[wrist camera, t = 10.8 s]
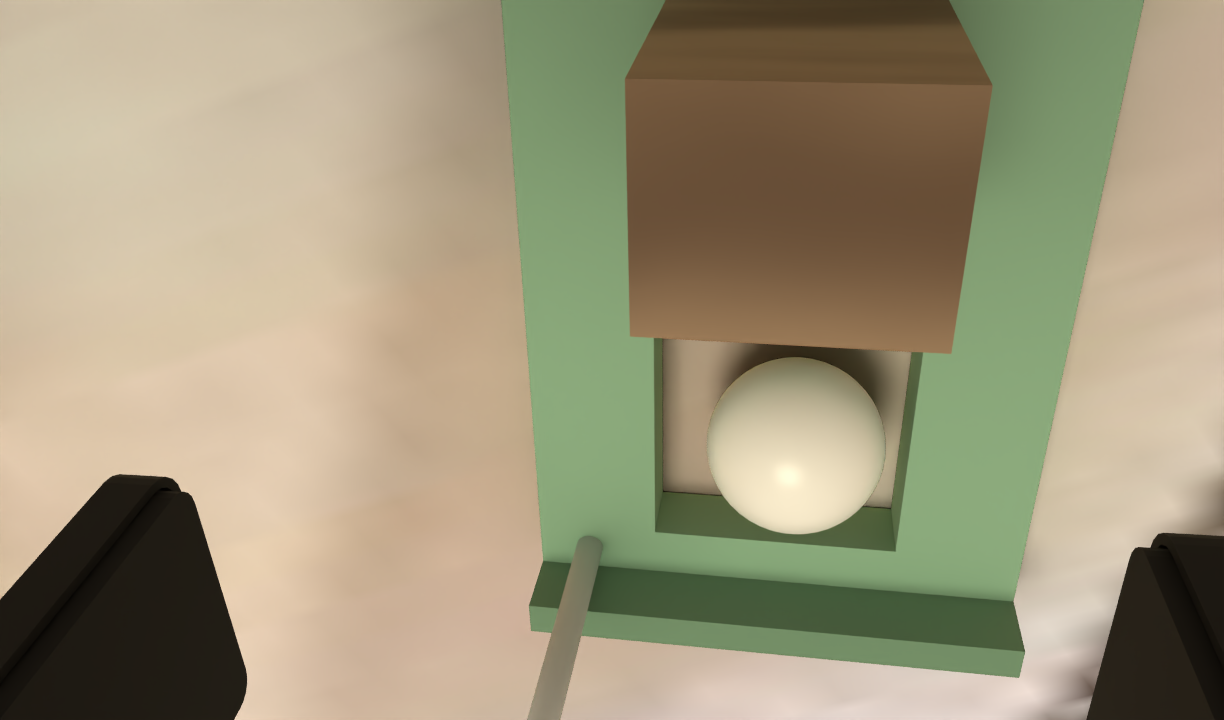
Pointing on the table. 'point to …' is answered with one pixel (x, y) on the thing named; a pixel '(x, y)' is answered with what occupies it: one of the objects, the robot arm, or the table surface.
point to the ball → (796, 445)
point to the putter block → (803, 172)
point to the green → (936, 392)
